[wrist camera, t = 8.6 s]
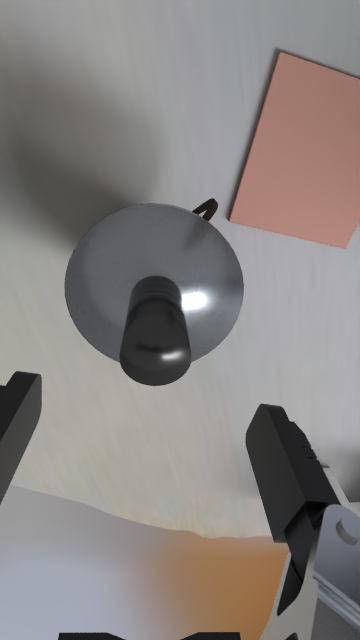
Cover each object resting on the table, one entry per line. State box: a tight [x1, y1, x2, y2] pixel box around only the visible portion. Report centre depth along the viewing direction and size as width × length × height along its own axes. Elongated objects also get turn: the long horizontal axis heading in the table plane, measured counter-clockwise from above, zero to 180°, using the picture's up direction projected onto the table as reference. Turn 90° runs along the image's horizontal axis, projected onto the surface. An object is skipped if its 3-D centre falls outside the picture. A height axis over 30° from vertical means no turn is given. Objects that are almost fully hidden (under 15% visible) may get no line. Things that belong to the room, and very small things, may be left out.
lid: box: [65, 203, 244, 386], centre depth 16 cm, size 11×11×7 cm
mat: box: [229, 52, 360, 249], centre depth 25 cm, size 12×12×1 cm
